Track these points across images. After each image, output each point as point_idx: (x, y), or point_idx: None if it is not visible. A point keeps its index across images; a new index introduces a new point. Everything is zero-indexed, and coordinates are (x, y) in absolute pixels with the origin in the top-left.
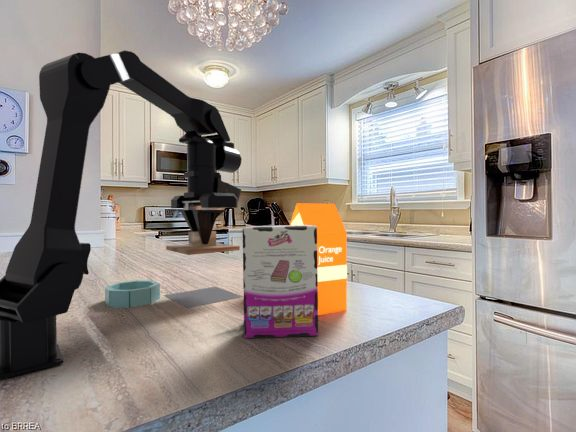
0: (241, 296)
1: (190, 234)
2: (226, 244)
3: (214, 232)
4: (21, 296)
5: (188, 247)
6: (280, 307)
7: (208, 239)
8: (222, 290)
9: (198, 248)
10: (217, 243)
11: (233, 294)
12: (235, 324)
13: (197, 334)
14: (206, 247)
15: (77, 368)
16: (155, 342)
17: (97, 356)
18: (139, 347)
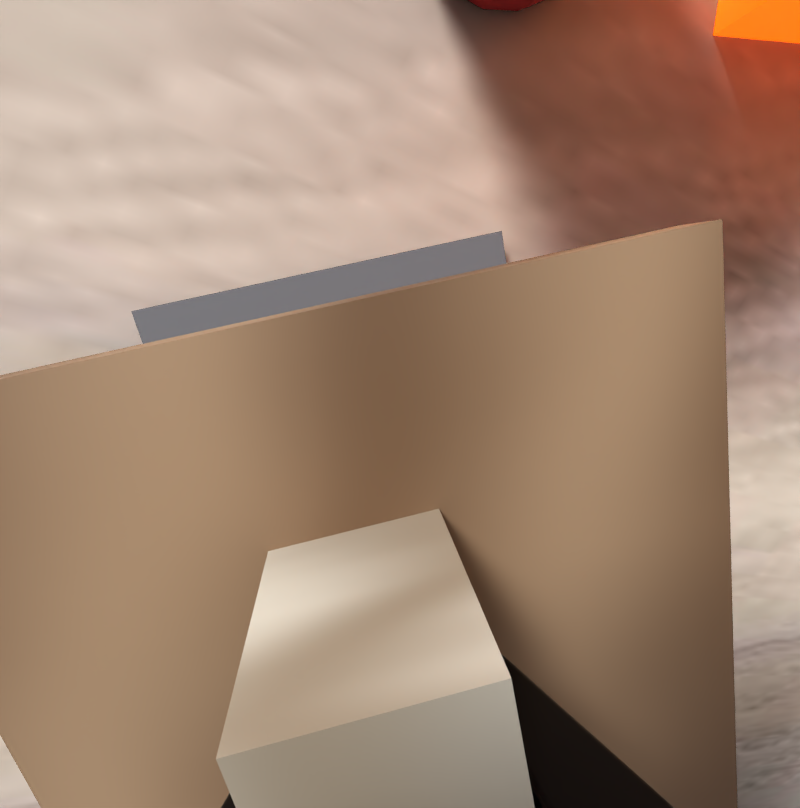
0: (491, 242)
1: None
2: (347, 320)
3: (509, 693)
4: None
5: None
6: None
7: (545, 700)
8: (277, 301)
9: (628, 740)
10: (83, 409)
11: (417, 270)
12: (774, 394)
13: (774, 537)
14: (585, 655)
15: (786, 789)
16: (753, 650)
17: (749, 765)
18: (759, 685)
